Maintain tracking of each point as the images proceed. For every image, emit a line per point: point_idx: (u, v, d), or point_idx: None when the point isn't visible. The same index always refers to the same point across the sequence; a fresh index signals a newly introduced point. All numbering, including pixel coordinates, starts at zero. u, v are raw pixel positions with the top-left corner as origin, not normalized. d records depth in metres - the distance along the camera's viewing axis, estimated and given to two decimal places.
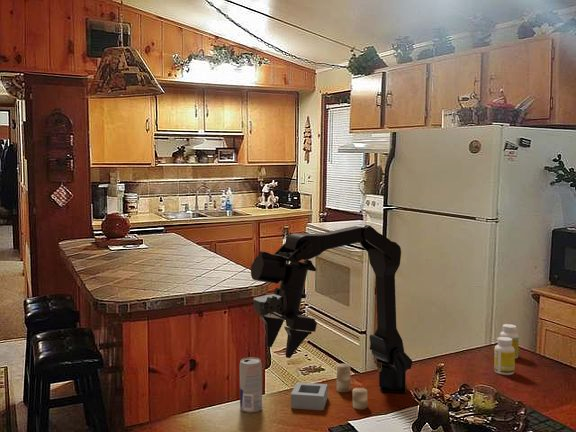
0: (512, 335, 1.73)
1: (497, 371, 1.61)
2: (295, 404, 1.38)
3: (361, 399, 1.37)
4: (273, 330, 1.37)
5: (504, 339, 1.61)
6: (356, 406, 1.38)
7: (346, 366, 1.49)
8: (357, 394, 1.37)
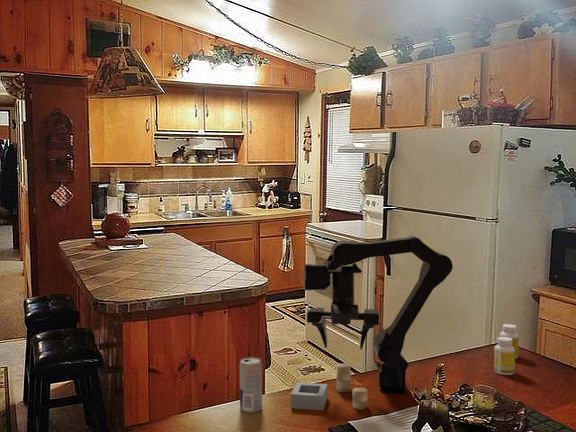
0: (512, 335, 1.73)
1: (497, 371, 1.61)
2: (295, 404, 1.38)
3: (361, 399, 1.37)
4: (325, 332, 1.50)
5: (504, 339, 1.61)
6: (356, 406, 1.38)
7: (346, 366, 1.49)
8: (357, 394, 1.37)
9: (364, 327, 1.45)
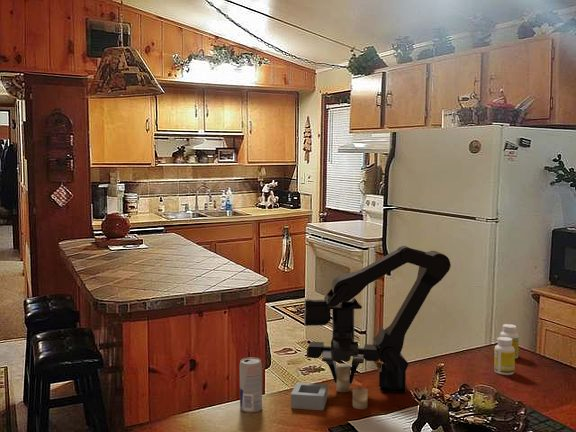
0: (512, 335, 1.73)
1: (497, 371, 1.61)
2: (295, 404, 1.38)
3: (361, 399, 1.37)
4: (335, 367, 1.50)
5: (504, 339, 1.61)
6: (356, 406, 1.38)
7: (346, 366, 1.49)
8: (357, 394, 1.37)
9: (354, 362, 1.46)
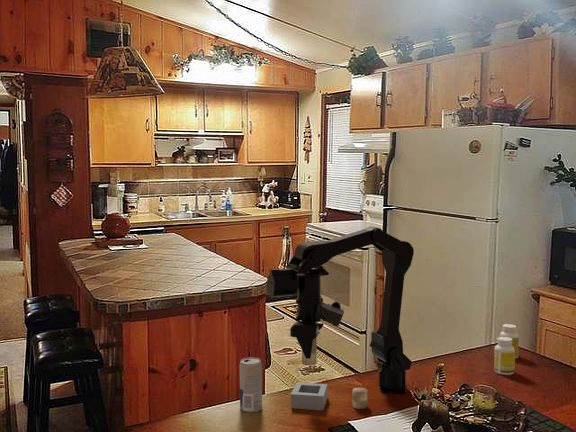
0: (512, 335, 1.73)
1: (497, 371, 1.61)
2: (295, 404, 1.38)
3: (360, 399, 1.37)
4: None
5: (504, 339, 1.61)
6: (355, 405, 1.38)
7: None
8: (356, 393, 1.37)
9: (321, 327, 1.43)
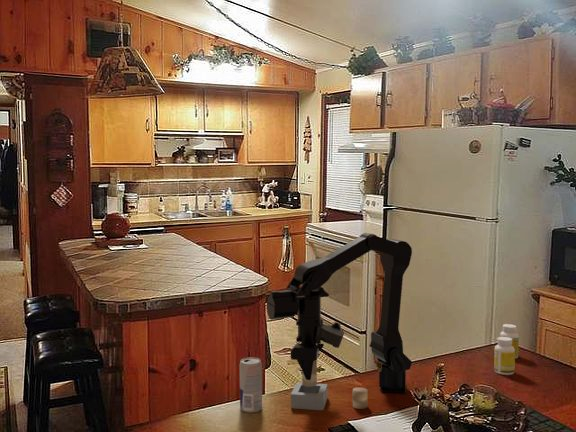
0: (512, 335, 1.73)
1: (497, 371, 1.61)
2: (295, 404, 1.38)
3: (360, 399, 1.37)
4: None
5: (504, 339, 1.61)
6: (355, 405, 1.38)
7: None
8: (356, 393, 1.38)
9: (321, 348, 1.43)
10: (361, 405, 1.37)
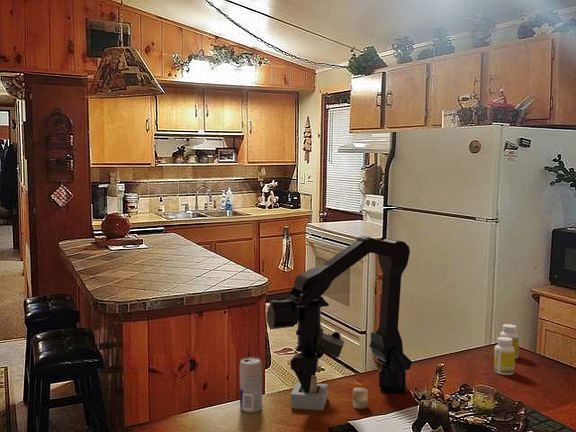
0: (512, 335, 1.73)
1: (497, 371, 1.61)
2: (295, 404, 1.38)
3: (359, 399, 1.37)
4: None
5: (504, 339, 1.61)
6: (355, 405, 1.38)
7: None
8: (356, 393, 1.38)
9: (322, 354, 1.45)
10: (361, 405, 1.37)
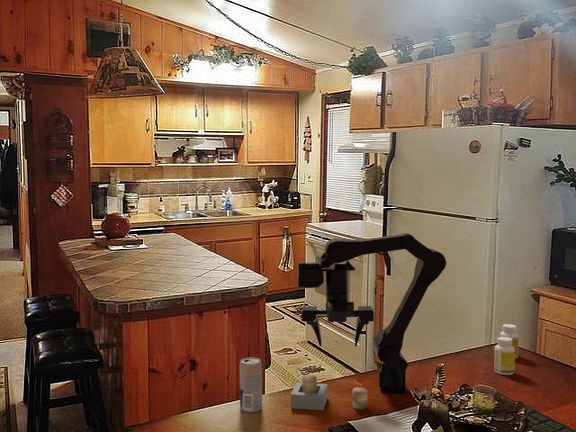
0: (512, 335, 1.73)
1: (497, 371, 1.61)
2: (295, 404, 1.38)
3: (358, 399, 1.37)
4: (319, 330, 1.50)
5: (504, 339, 1.61)
6: (354, 405, 1.38)
7: (310, 376, 1.42)
8: (355, 394, 1.37)
9: (359, 324, 1.46)
10: (360, 406, 1.37)
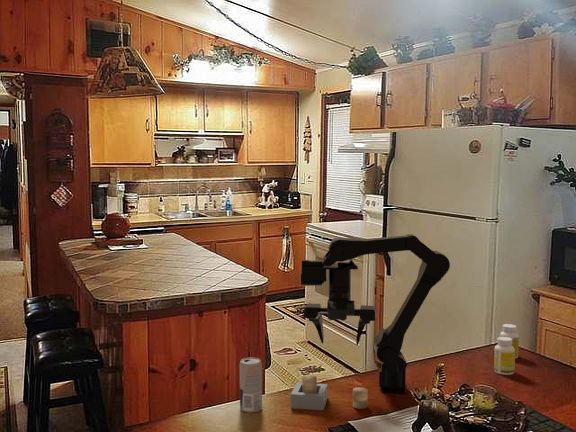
0: (512, 335, 1.73)
1: (497, 371, 1.61)
2: (295, 404, 1.38)
3: (358, 398, 1.37)
4: (322, 327, 1.51)
5: (504, 339, 1.61)
6: (354, 404, 1.38)
7: (310, 376, 1.42)
8: (355, 392, 1.38)
9: (360, 323, 1.46)
10: (359, 405, 1.37)
